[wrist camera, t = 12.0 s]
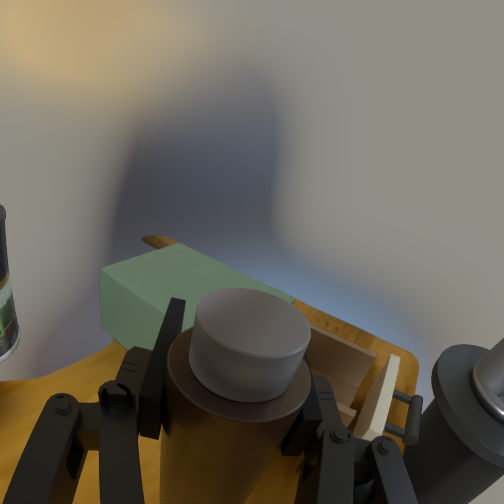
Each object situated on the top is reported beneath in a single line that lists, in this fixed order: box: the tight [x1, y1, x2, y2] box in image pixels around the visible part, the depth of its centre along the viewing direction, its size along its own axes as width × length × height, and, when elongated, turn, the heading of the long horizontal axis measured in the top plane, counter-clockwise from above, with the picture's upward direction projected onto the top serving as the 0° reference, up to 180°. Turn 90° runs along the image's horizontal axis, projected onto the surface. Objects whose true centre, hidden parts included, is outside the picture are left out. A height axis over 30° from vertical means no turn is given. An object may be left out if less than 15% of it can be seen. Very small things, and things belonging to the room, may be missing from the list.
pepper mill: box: [160, 287, 311, 504], centre depth 13 cm, size 5×5×16 cm
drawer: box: [306, 323, 423, 445], centre depth 27 cm, size 20×12×6 cm, turn 60°
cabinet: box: [100, 243, 295, 351], centre depth 34 cm, size 17×13×8 cm
